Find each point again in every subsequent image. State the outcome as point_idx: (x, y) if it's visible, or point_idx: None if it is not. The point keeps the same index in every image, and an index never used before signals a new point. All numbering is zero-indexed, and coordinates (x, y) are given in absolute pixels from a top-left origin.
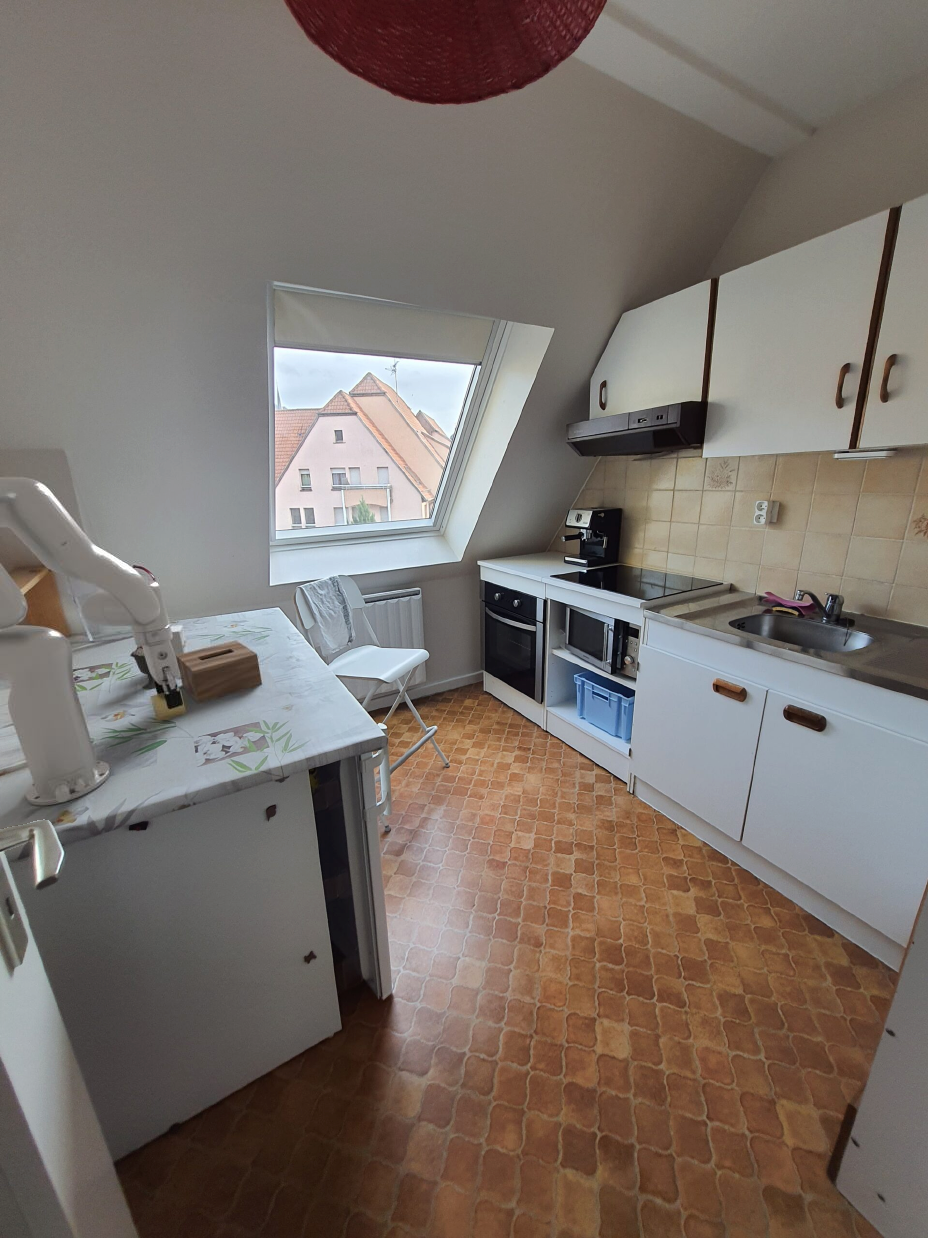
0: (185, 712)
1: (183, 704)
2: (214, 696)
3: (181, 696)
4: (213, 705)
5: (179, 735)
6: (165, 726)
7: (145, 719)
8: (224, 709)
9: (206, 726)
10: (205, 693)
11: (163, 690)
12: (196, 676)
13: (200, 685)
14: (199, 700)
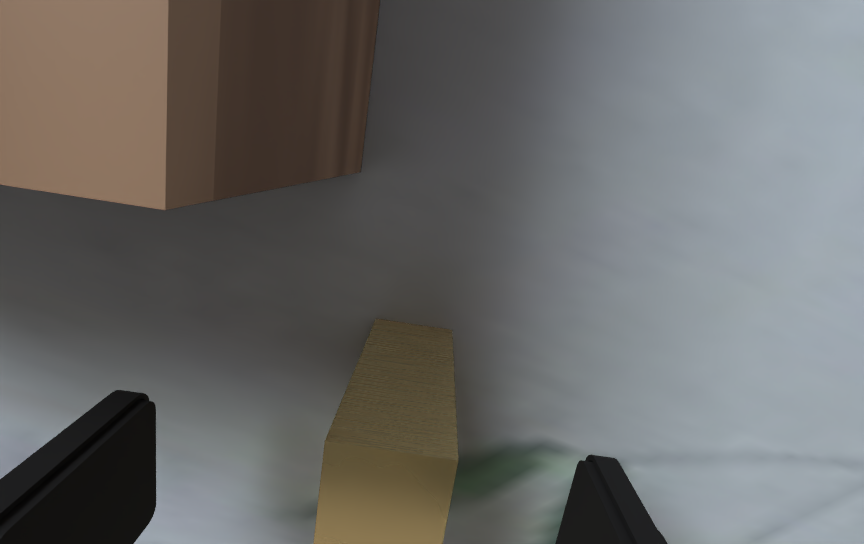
0: (451, 334)
1: (452, 370)
2: (375, 14)
3: (456, 422)
4: (518, 109)
5: (776, 505)
6: (544, 505)
7: (301, 539)
8: (702, 85)
9: (846, 338)
10: (354, 91)
11: (127, 501)
12: (253, 144)
13: (318, 118)
14: (354, 168)
